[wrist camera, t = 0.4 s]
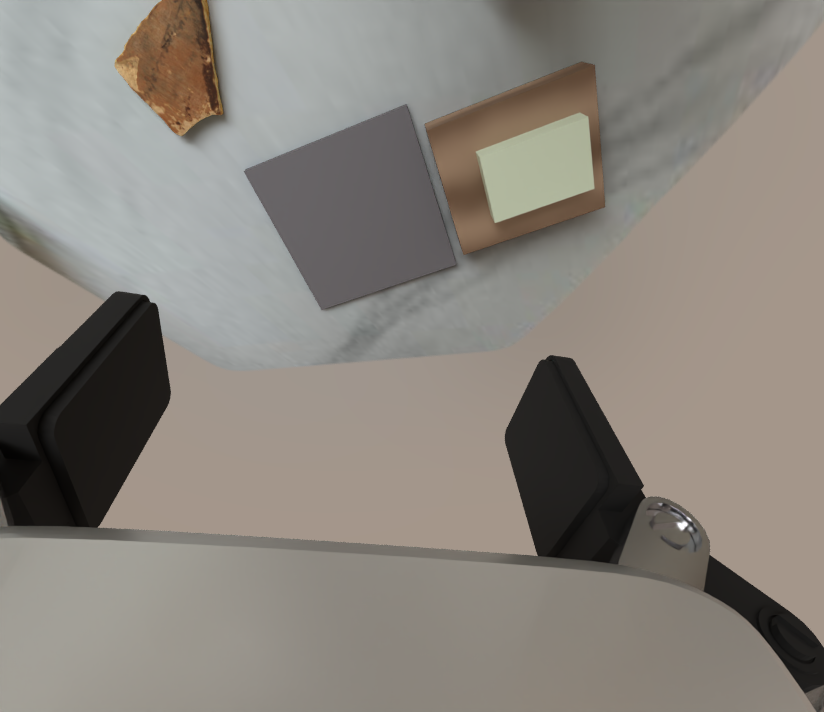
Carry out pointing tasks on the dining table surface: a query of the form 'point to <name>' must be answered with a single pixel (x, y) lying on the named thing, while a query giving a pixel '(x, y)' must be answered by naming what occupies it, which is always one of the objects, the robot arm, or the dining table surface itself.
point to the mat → (356, 209)
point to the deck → (500, 122)
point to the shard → (174, 63)
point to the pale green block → (537, 167)
